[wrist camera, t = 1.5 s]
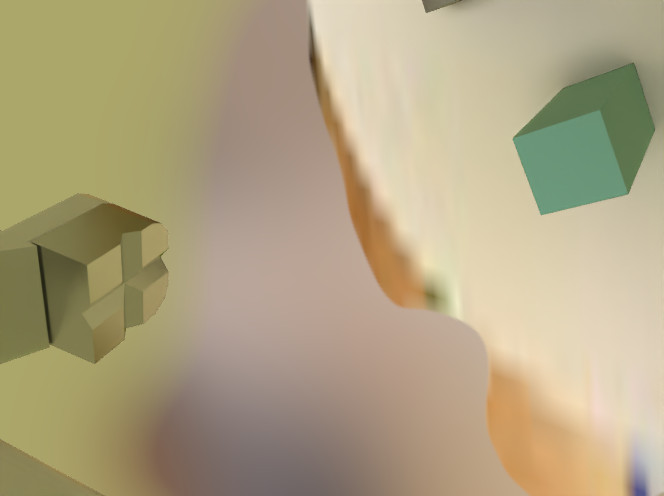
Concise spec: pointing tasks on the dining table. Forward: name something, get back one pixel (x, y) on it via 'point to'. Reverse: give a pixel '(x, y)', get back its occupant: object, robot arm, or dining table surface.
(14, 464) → the robot arm
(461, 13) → the dining table surface
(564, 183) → the teal pillar
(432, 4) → the charcoal block
